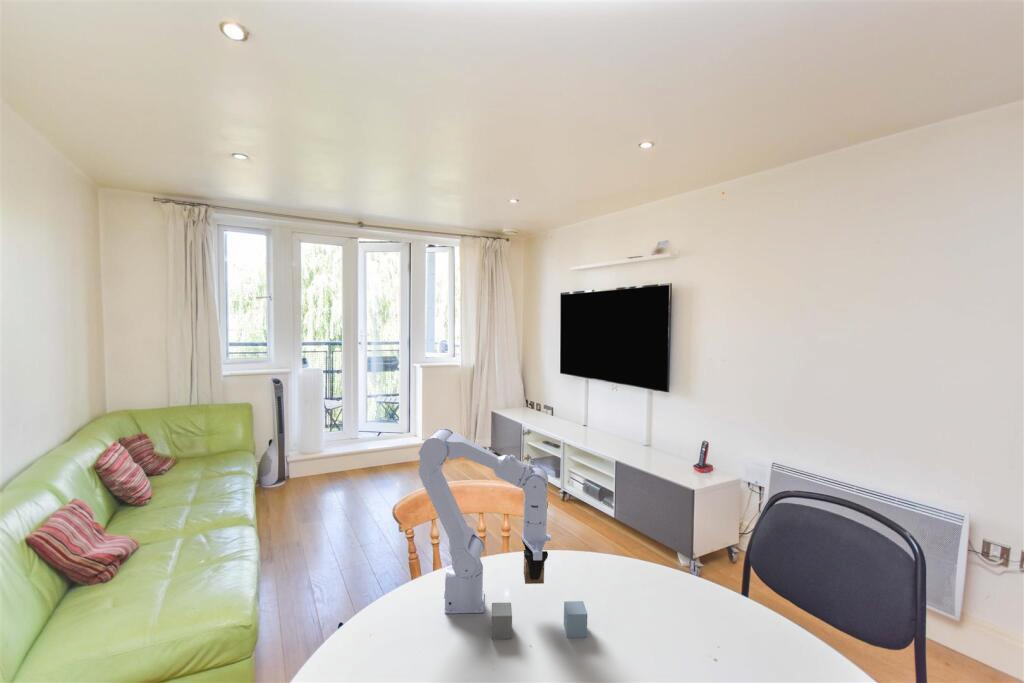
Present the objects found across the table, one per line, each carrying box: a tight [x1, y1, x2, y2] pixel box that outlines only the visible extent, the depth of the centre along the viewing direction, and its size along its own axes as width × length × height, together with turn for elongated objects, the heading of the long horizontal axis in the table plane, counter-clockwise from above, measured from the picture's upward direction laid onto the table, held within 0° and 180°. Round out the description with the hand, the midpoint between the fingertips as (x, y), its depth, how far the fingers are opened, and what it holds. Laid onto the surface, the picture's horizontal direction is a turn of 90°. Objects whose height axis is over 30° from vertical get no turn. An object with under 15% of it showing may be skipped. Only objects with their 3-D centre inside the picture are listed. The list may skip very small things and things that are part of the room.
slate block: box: [563, 600, 588, 639], centre depth 104 cm, size 4×4×6 cm
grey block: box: [490, 602, 513, 640], centre depth 103 cm, size 4×4×6 cm
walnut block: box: [523, 555, 545, 585], centre depth 110 cm, size 4×4×6 cm
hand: (533, 572), depth 110 cm, fingers closed on walnut block, 4 cm apart
